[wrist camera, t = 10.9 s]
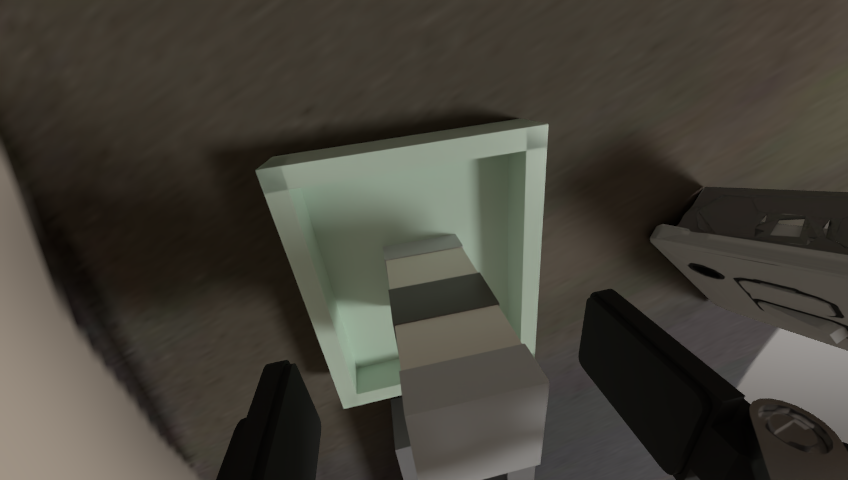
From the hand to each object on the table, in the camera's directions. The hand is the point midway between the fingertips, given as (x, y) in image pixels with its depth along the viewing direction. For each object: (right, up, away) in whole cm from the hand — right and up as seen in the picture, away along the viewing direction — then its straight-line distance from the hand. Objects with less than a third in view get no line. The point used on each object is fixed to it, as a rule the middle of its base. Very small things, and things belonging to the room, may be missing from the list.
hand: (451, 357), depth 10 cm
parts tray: (-1, +3, +5) cm, 6 cm away
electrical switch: (+16, +4, +8) cm, 18 cm away
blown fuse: (-1, +2, +5) cm, 5 cm away
